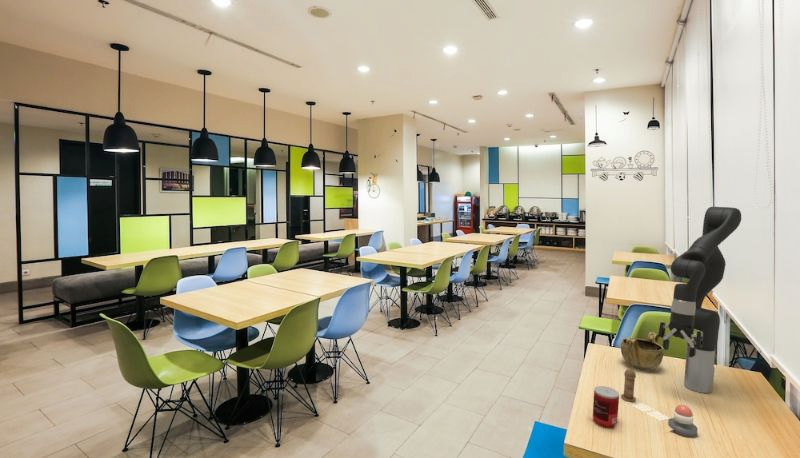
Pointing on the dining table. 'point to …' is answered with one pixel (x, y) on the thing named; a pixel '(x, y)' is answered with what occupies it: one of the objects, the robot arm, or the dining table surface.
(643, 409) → the track
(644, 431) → the dining table surface
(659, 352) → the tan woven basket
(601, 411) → the canned food
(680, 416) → the dome plunger
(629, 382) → the pawn
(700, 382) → the robot arm
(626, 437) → the dining table surface
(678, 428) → the dome housing
